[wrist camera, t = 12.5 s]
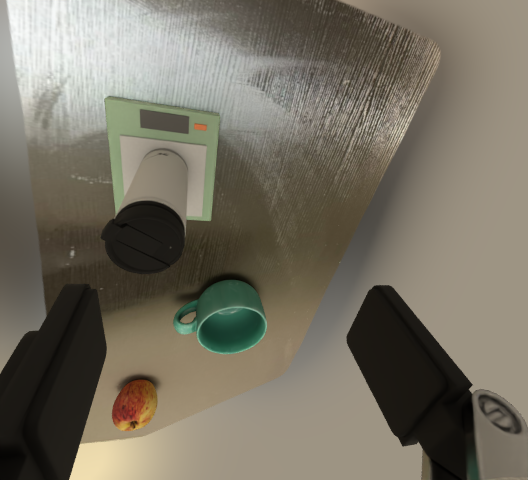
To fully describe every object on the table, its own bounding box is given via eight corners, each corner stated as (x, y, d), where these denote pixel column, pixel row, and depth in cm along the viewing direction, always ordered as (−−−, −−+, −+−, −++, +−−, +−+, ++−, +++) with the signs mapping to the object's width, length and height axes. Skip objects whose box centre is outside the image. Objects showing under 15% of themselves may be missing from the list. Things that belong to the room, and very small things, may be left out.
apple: (141, 366, 65) (134, 411, 57) (167, 382, 70) (164, 426, 62) (109, 384, 66) (98, 431, 58) (137, 399, 71) (130, 444, 63)
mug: (265, 274, 58) (276, 308, 50) (249, 318, 64) (257, 354, 56) (180, 266, 53) (177, 303, 45) (172, 314, 59) (168, 355, 51)
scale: (108, 96, 36) (102, 99, 34) (219, 113, 40) (220, 116, 38) (118, 209, 45) (114, 217, 42) (210, 214, 48) (211, 222, 46)
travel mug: (155, 136, 37) (125, 200, 21) (197, 167, 41) (199, 243, 24) (129, 172, 39) (83, 257, 23) (171, 199, 42) (158, 290, 26)
